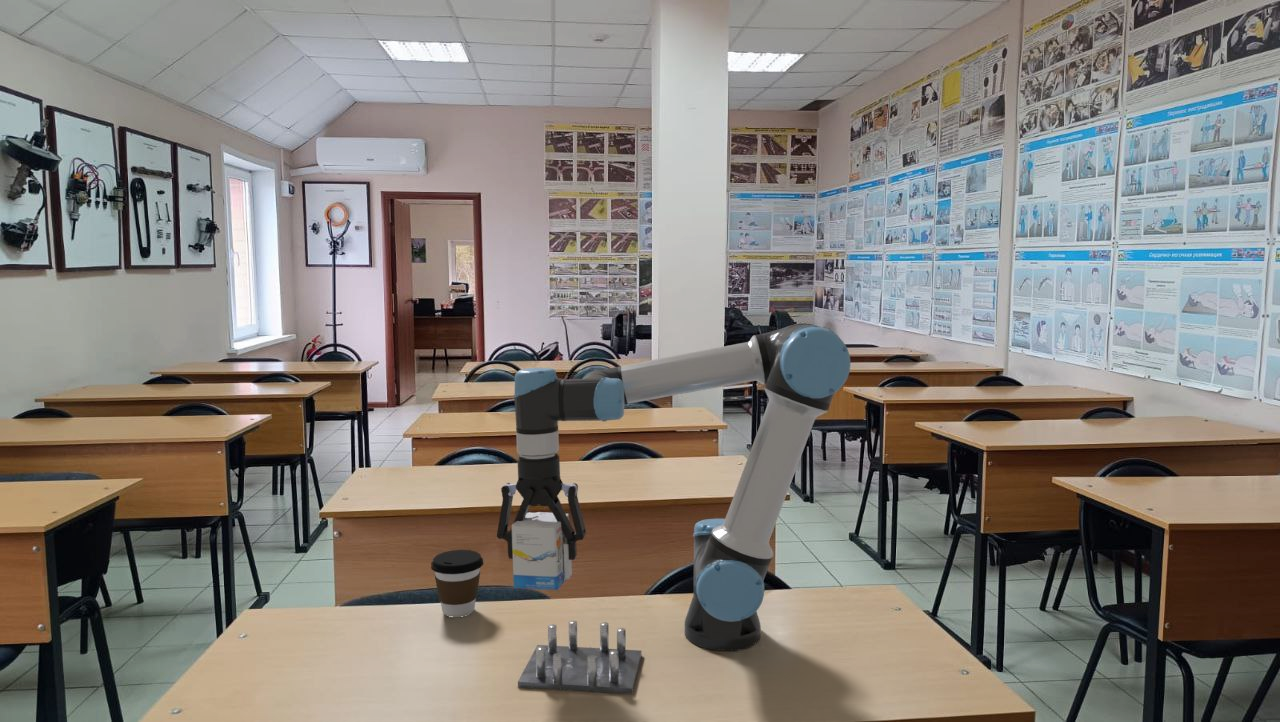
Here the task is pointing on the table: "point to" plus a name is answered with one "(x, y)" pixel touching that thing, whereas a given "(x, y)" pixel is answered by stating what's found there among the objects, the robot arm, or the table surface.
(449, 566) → the coffee cup
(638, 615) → the table surface
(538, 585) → the ink box
